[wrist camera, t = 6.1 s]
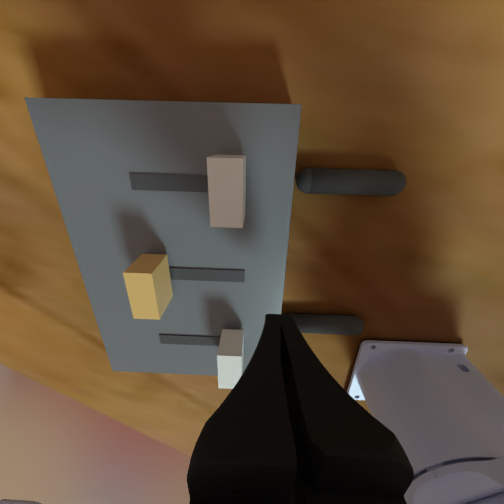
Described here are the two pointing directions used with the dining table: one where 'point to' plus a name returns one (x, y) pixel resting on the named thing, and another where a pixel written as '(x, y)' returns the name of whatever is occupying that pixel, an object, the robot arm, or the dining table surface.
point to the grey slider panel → (172, 218)
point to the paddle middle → (148, 286)
